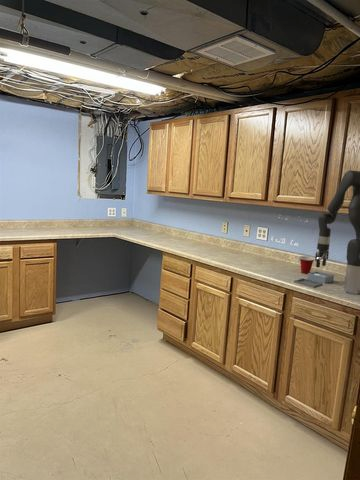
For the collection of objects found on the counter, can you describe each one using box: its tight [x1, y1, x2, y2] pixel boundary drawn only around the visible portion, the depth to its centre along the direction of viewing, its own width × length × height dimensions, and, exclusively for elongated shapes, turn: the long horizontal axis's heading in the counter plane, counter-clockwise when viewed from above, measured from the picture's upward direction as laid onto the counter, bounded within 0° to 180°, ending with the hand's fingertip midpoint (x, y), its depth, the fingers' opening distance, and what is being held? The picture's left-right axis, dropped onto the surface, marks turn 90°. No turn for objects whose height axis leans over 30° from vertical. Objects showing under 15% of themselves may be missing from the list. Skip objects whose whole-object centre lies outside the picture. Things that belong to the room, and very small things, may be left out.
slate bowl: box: [306, 270, 335, 284], centre depth 250 cm, size 13×13×4 cm
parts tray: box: [293, 278, 324, 289], centre depth 239 cm, size 14×12×2 cm
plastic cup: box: [299, 255, 315, 275], centre depth 269 cm, size 11×11×12 cm
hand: (320, 266), depth 248 cm, fingers open, 8 cm apart
